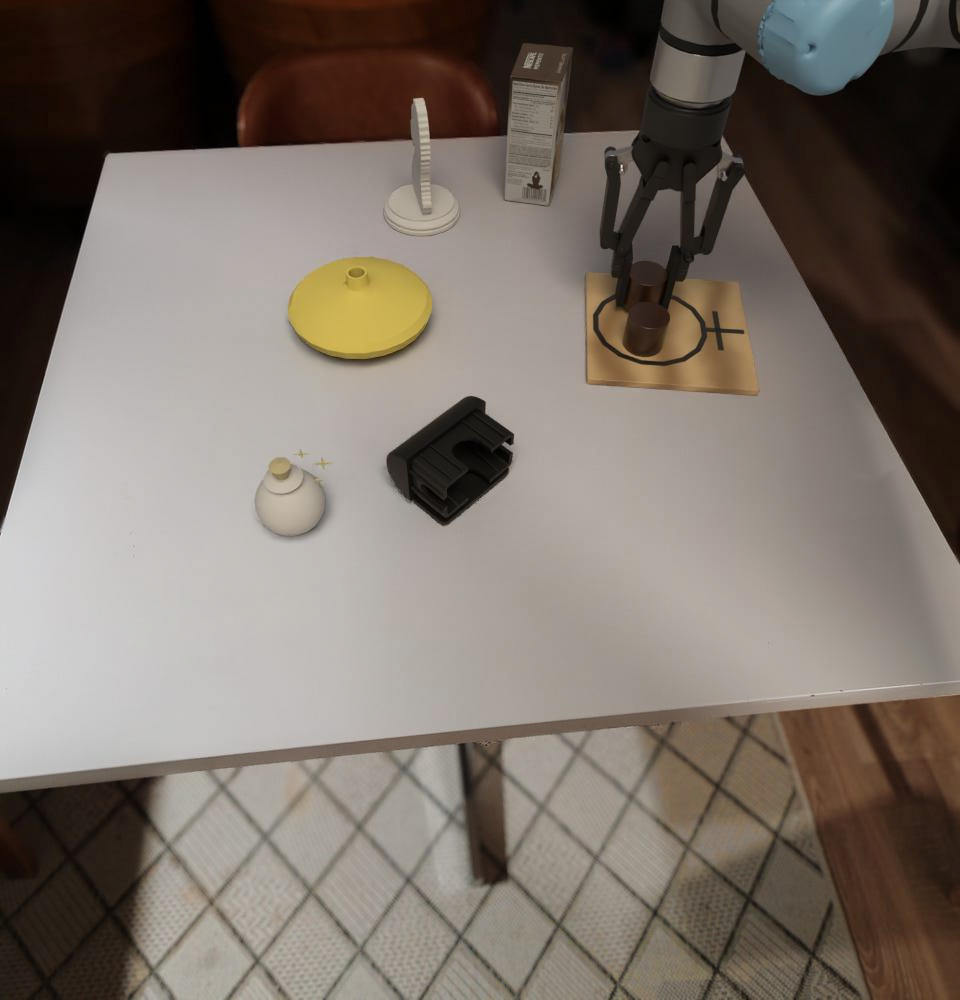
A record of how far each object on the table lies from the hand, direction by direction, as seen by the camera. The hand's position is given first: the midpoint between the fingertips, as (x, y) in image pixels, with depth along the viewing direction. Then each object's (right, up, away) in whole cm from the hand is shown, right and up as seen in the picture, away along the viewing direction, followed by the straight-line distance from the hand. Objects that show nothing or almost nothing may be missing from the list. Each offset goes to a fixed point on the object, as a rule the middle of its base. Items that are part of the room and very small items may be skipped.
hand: (641, 300), depth 87 cm
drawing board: (+3, -4, 0) cm, 5 cm away
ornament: (-34, -25, -16) cm, 45 cm away
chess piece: (-26, +14, +13) cm, 32 cm away
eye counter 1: (0, 0, 0) cm, 0 cm away
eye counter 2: (0, -5, -3) cm, 6 cm away
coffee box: (-11, +20, +17) cm, 28 cm away
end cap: (-21, -21, -13) cm, 32 cm away
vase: (-31, -3, 0) cm, 31 cm away
